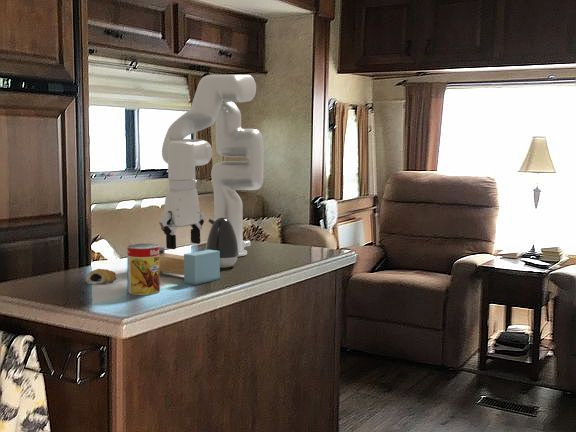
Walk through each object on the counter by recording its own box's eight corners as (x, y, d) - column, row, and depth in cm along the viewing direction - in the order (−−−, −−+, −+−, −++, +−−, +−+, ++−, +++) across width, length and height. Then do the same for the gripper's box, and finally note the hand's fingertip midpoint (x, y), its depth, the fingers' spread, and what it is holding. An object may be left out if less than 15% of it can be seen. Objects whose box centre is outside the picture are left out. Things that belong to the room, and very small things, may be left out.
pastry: (99, 277, 198) (99, 264, 198) (122, 279, 197) (121, 265, 196) (83, 284, 189) (83, 270, 188) (107, 286, 188) (107, 272, 187)
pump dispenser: (220, 262, 223) (219, 215, 221) (245, 266, 217) (245, 217, 215) (198, 267, 214) (197, 217, 213) (224, 271, 208) (223, 220, 207)
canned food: (161, 294, 177) (160, 247, 175) (129, 296, 175) (128, 248, 173) (158, 287, 184) (157, 242, 183) (127, 289, 182) (126, 243, 181)
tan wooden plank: (157, 267, 207) (157, 250, 207) (208, 275, 195) (208, 258, 195) (144, 269, 203) (144, 252, 203) (195, 278, 191) (195, 260, 191)
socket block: (209, 277, 198) (209, 249, 198) (219, 279, 196) (219, 251, 195) (184, 283, 190) (184, 254, 189) (194, 285, 188) (194, 255, 187)
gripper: (194, 182, 204) (195, 240, 207) (149, 187, 190) (151, 249, 193) (213, 183, 200) (214, 242, 202) (169, 189, 186) (170, 252, 188)
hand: (183, 245), depth 197 cm, fingers open, 9 cm apart
